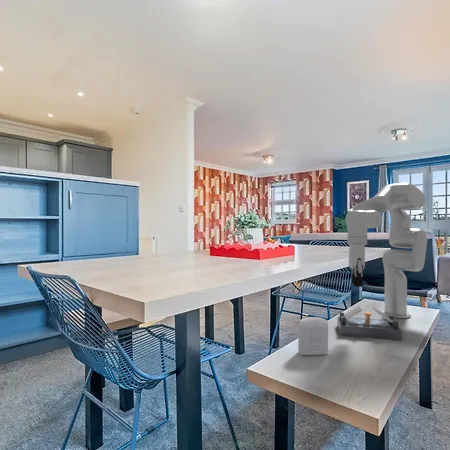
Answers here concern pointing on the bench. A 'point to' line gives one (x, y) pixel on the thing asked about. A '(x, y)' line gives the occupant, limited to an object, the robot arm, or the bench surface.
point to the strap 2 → (383, 315)
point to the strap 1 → (352, 313)
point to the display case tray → (369, 327)
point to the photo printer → (313, 336)
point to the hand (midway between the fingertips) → (357, 284)
